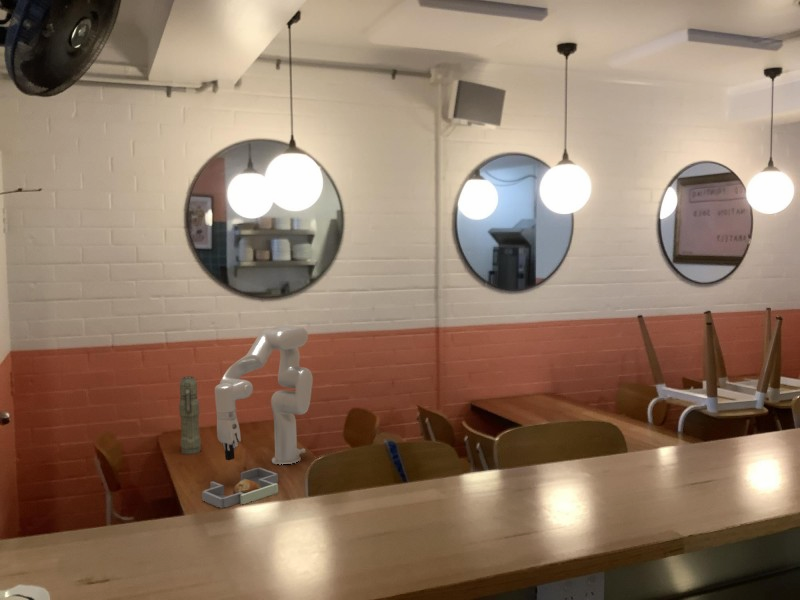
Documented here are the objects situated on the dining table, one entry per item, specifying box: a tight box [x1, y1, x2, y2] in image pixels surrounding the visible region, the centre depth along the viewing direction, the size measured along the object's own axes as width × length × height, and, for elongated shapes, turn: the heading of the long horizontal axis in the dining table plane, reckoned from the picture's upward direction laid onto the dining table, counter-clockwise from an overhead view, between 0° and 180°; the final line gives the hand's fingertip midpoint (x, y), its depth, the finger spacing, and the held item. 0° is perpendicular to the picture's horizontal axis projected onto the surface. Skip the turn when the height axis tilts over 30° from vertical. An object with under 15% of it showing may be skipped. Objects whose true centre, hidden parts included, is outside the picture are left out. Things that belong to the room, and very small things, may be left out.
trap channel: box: [201, 467, 279, 509], centre depth 283 cm, size 31×22×4 cm
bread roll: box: [232, 479, 261, 495], centre depth 280 cm, size 10×10×8 cm
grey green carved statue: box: [178, 376, 202, 456], centre depth 335 cm, size 9×12×35 cm
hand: (230, 459), depth 290 cm, fingers closed
